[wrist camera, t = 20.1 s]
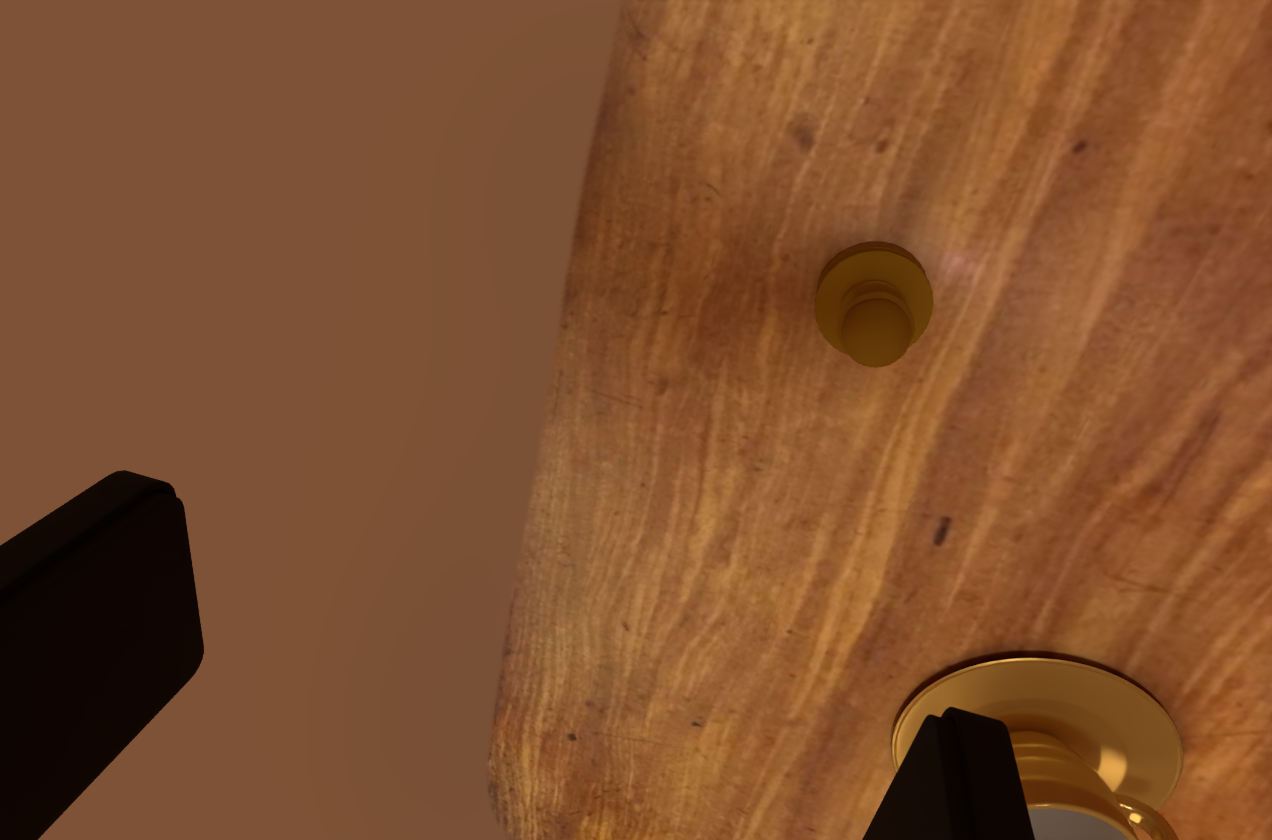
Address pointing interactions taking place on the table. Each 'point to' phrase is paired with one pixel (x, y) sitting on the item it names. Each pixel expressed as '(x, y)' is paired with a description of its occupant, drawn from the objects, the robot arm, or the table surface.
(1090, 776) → the cup
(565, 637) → the table surface
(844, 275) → the chess piece
